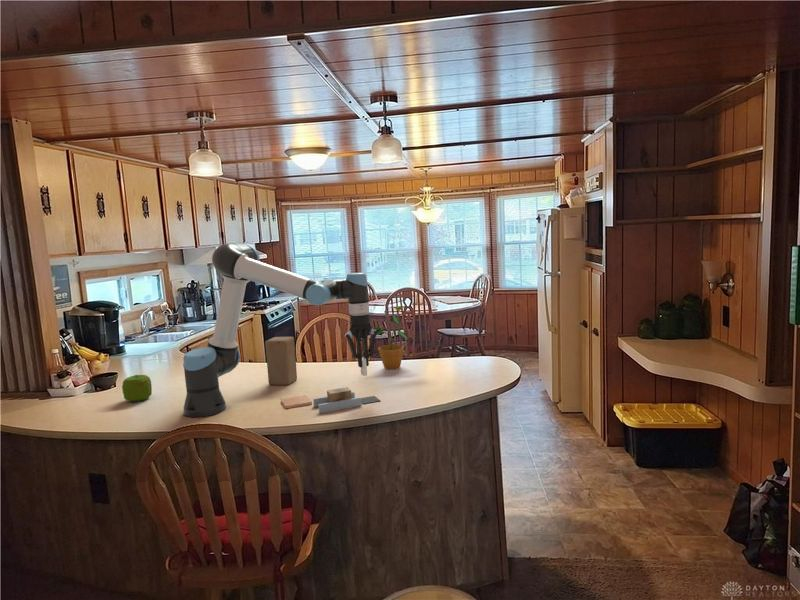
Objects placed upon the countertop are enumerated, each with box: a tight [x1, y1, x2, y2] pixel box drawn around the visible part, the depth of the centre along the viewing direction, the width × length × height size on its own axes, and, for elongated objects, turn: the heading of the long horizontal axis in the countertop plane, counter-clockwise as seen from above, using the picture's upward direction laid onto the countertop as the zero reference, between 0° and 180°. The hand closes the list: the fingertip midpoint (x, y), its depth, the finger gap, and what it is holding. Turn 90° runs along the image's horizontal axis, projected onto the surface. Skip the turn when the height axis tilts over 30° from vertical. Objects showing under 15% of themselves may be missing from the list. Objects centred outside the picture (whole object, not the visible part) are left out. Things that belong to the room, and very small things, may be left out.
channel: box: [312, 391, 362, 414], centre depth 199 cm, size 16×9×3 cm, turn 113°
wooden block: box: [264, 336, 298, 386], centre depth 236 cm, size 10×10×20 cm
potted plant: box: [373, 305, 408, 370], centre depth 250 cm, size 18×19×30 cm
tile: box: [280, 394, 313, 409], centre depth 206 cm, size 10×10×1 cm
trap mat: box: [361, 395, 381, 405], centre depth 204 cm, size 7×7×1 cm
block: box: [326, 386, 352, 403], centre depth 199 cm, size 8×5×6 cm, turn 113°
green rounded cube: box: [121, 374, 153, 403], centre depth 221 cm, size 11×11×11 cm
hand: (364, 374), depth 202 cm, fingers closed
